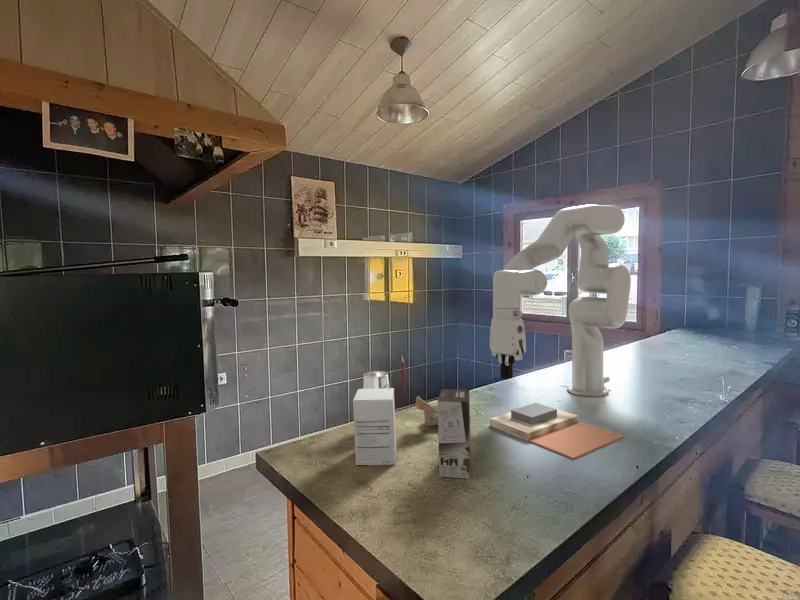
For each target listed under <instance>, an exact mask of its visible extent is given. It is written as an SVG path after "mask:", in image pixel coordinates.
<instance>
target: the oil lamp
mask: <svg viewBox="0 0 800 600" xmlns="http://www.w3.org/2000/svg"><path fill="white" fill-rule="evenodd" d="M415 405H416V408H417V409H418V410H421V411H423V415H424V422H425V425H426V426H428V427H431V426H437V427H438V404H437V405H436V404H435V405H432V404H429V403H428V402H427V401H425V400H424V399H422V398H421V397H420V396H419V395H418V396H416V398H415Z"/></svg>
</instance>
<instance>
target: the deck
mask: <svg viewBox="0 0 800 600" xmlns="http://www.w3.org/2000/svg"><path fill="white" fill-rule="evenodd" d="M540 404H541V403H540ZM541 405H543V404H541ZM547 406H548V405H547ZM548 407H551V406H548ZM551 408H554V409H557V417H554V418H551V419H548V420H545V421H542V422H539V423H536V424H534V425H531V424H528V423H525V422H522V421H520V420H517V419H514V418H511V411H509V412H506V413H503V414H500V415H497V416H494V417H490V418H489V426H490V427H493V428H495V429H497V430H500V431H502V432H504V433H507V434H509V435H512V436H514V437H517V438H519V439H522V440H524V441H526V442H530V440H531V439H534V438H537V437H540V436H542V435H545V434H548V433H550V432H553V431H556V430H559V429H561V428H564V427H567V426H570V425H572V424H575V423H578V422H579V415H578V414H574V413H571V412H568V411H565V410H561V409H558V408H555V407H551Z"/></svg>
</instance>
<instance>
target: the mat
mask: <svg viewBox="0 0 800 600" xmlns="http://www.w3.org/2000/svg"><path fill="white" fill-rule="evenodd" d="M623 438H625V436H624V435H622V434H620V433H616V432H613V431H610V430H606V429H604V428H600V427H597V426H594V425H591V424H587V423H585V422H581V421H578V423H575V424H572V425H570V426H567V427H564V428H561V429H559V430H556V431H553V432H550V433H548V434H545V435H542V436H540V437H537V438H534V439H531V440H530V441H529V443H531V444H534V445H536V446H539V447H541V448H544V449H546V450H549V451H552V452H554V453H556V454H559V455H562V456H564V457H567V458H569V459H571V460H576V459H577V458H579V457H582V456H584V455H587V454H589V453H592V452H594V451H596V450H598V449H601V448H603V447H605V446H608V445H610V444H612V443H614V442H616V441H619V440H621V439H623Z"/></svg>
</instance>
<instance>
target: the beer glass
mask: <svg viewBox="0 0 800 600" xmlns="http://www.w3.org/2000/svg"><path fill="white" fill-rule="evenodd" d="M383 388H390V380H389V373H388V372H386V371H383V370H381V371H380V370H373V371H368V372H366V373H364V374H363V389H383Z"/></svg>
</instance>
